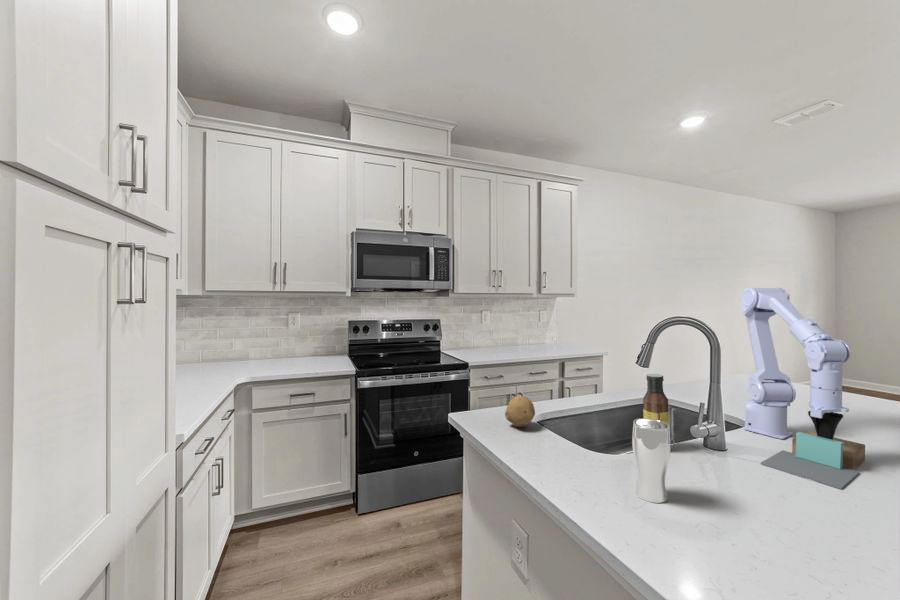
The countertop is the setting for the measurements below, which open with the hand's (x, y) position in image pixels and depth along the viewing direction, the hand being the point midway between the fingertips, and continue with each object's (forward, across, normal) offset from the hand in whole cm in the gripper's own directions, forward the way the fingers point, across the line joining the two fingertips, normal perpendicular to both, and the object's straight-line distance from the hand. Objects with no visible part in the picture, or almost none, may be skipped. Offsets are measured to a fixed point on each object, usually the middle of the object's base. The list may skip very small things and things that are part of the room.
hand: (825, 441), depth 94 cm
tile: (+1, -4, 0) cm, 4 cm away
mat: (+5, -10, 0) cm, 11 cm away
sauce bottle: (+5, -29, +26) cm, 40 cm away
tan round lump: (+5, -50, +57) cm, 76 cm away
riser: (+5, +2, 0) cm, 5 cm away
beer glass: (+5, -54, +14) cm, 56 cm away
